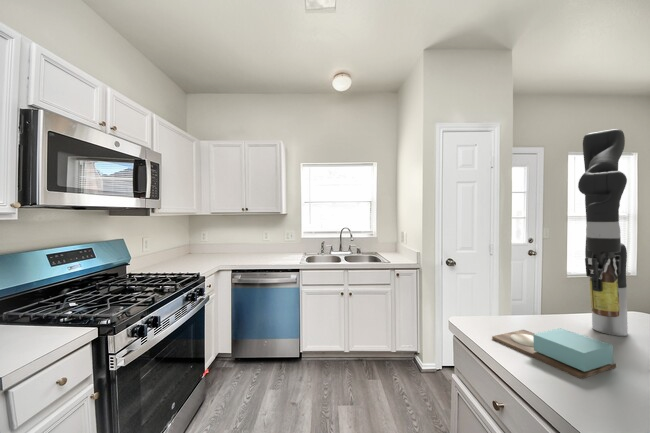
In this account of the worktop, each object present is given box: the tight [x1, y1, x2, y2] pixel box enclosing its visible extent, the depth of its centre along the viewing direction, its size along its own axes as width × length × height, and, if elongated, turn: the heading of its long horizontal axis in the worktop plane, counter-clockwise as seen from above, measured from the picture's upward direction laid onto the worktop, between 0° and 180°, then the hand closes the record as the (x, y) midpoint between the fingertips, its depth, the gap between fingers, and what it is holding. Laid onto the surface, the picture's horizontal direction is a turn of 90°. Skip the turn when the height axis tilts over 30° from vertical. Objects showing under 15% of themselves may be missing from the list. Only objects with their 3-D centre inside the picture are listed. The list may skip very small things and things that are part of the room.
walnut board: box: [491, 329, 617, 379], centre depth 88 cm, size 16×26×1 cm, turn 20°
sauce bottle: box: [589, 253, 620, 317], centre depth 85 cm, size 7×6×20 cm
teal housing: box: [533, 327, 614, 372], centre depth 82 cm, size 13×13×5 cm
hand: (604, 289), depth 86 cm, fingers closed on sauce bottle, 6 cm apart
